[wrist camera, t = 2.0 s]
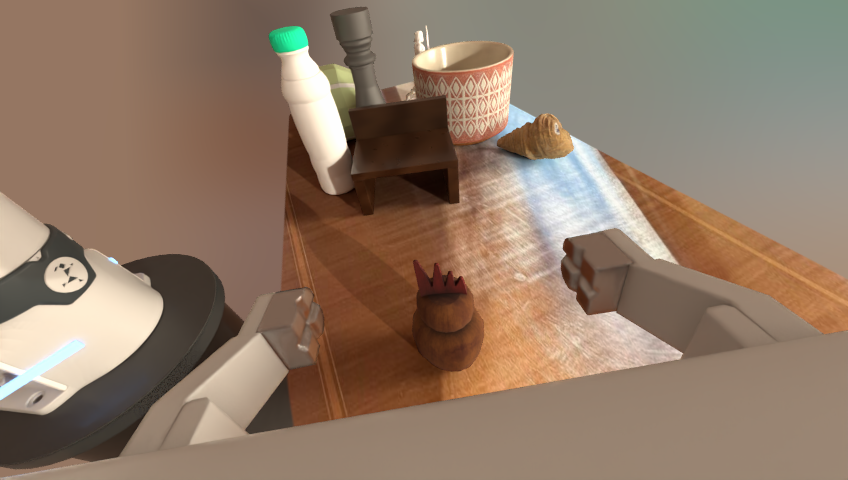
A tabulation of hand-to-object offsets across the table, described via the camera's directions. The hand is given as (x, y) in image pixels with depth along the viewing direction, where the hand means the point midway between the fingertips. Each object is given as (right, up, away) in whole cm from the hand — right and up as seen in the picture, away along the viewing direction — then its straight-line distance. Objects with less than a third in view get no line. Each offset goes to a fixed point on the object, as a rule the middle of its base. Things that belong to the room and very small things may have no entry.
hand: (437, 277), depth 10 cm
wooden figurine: (+2, -11, +23) cm, 26 cm away
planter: (+8, +26, +59) cm, 65 cm away
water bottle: (-16, +11, +48) cm, 52 cm away
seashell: (+20, +17, +48) cm, 55 cm away
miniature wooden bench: (-3, +10, +45) cm, 46 cm away
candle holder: (-9, +17, +53) cm, 57 cm away
